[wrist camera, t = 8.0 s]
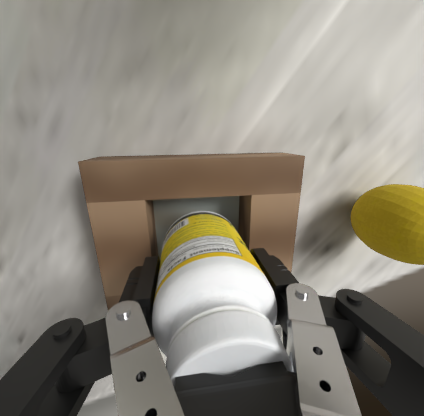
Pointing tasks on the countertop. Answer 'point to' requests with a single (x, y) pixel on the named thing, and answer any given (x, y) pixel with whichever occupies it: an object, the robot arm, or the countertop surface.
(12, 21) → the countertop surface
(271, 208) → the block
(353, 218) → the lemon
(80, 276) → the countertop surface
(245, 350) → the supplement bottle
